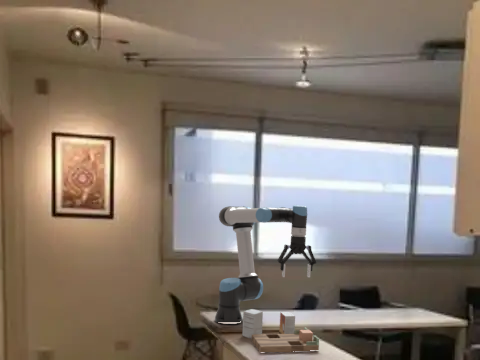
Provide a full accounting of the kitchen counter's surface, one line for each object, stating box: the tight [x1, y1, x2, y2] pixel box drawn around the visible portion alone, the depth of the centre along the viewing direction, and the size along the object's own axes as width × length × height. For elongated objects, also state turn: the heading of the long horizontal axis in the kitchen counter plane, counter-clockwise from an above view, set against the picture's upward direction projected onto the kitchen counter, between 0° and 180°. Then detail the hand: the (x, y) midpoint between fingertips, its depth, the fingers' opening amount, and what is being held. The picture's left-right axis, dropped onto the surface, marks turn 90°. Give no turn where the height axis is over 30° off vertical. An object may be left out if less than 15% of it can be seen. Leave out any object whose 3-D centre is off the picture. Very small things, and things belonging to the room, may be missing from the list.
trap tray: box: [251, 327, 320, 353], centre depth 236 cm, size 18×28×6 cm, turn 102°
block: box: [298, 329, 314, 341], centre depth 238 cm, size 5×5×4 cm
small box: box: [278, 311, 296, 334], centre depth 255 cm, size 8×6×10 cm
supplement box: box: [242, 308, 264, 340], centre depth 249 cm, size 7×7×13 cm
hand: (295, 277), depth 252 cm, fingers open, 13 cm apart
